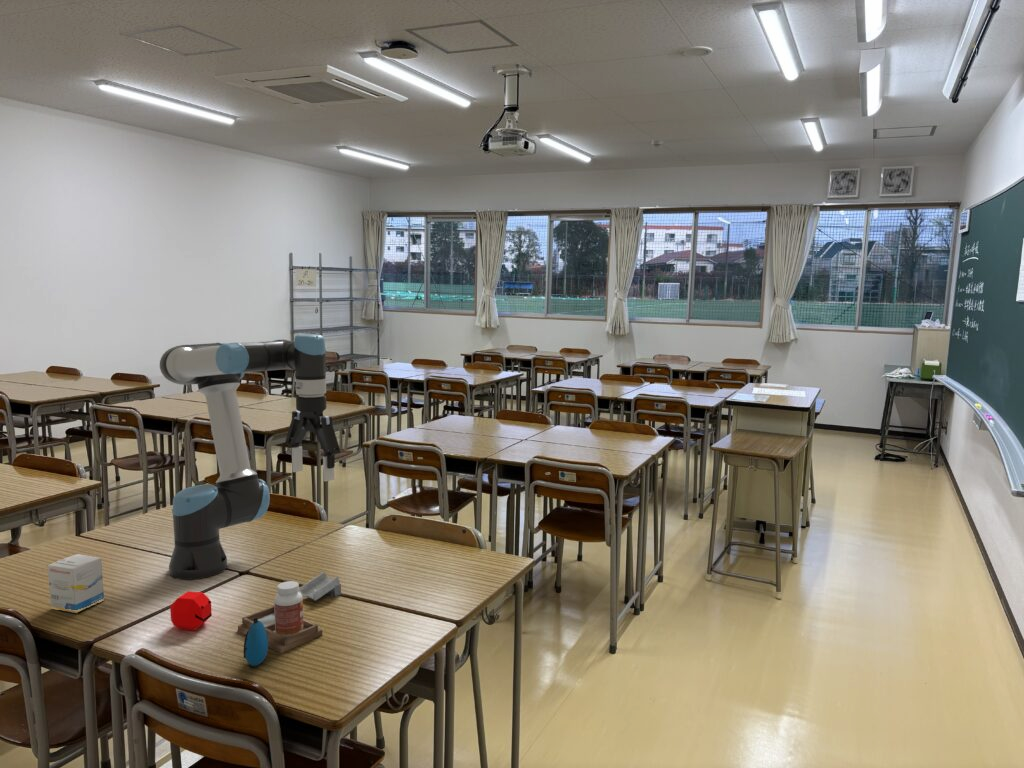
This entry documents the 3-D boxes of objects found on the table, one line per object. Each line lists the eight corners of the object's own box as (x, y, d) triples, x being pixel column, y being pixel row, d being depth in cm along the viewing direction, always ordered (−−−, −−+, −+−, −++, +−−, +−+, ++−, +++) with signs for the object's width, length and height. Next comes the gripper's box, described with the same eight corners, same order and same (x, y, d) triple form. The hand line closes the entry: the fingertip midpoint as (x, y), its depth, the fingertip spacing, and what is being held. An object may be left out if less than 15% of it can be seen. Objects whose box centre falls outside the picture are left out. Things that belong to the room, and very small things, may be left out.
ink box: (105, 601, 182) (102, 556, 180) (75, 615, 174) (72, 568, 172) (80, 596, 185) (77, 552, 183) (49, 609, 177) (46, 564, 175)
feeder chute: (299, 599, 184) (298, 580, 183) (326, 588, 190) (326, 570, 190) (313, 605, 180) (313, 586, 179) (341, 594, 187) (340, 576, 186)
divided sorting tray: (237, 630, 166) (237, 619, 166) (279, 614, 175) (278, 603, 175) (280, 653, 156) (280, 641, 156) (322, 634, 165) (322, 623, 164)
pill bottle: (306, 633, 162) (305, 586, 161) (279, 640, 159) (277, 592, 157) (299, 623, 167) (298, 577, 166) (272, 629, 164) (270, 583, 163)
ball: (197, 635, 164) (195, 603, 163) (165, 632, 165) (163, 601, 164) (217, 619, 172) (215, 589, 171) (186, 617, 173) (185, 587, 172)
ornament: (250, 653, 156) (248, 610, 155) (272, 652, 156) (270, 609, 155) (239, 673, 148) (237, 627, 146) (262, 672, 148) (261, 626, 147)
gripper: (270, 391, 188) (272, 470, 191) (328, 401, 173) (330, 487, 175) (295, 388, 194) (297, 465, 197) (353, 398, 178) (354, 481, 181)
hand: (312, 475), depth 186 cm, fingers open, 13 cm apart
